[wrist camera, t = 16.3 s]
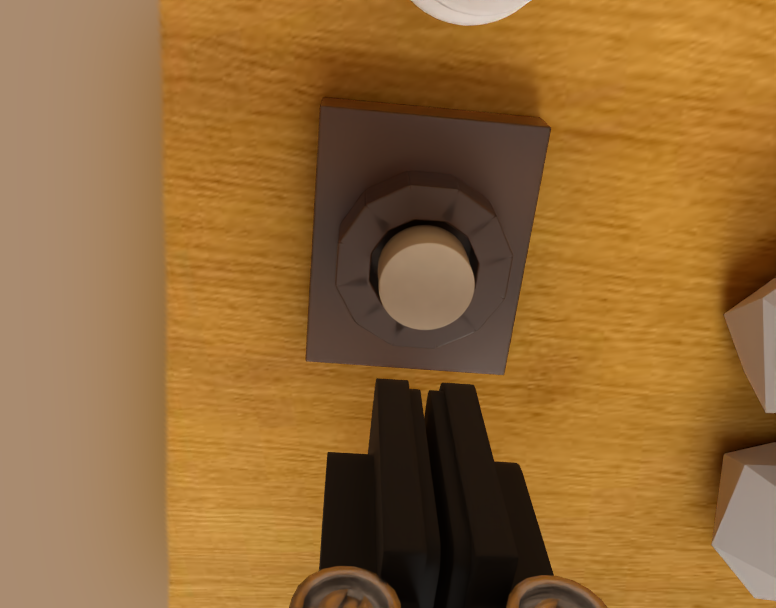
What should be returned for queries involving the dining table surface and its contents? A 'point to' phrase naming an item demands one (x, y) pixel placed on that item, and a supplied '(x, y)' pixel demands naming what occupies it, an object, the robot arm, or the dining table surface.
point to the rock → (751, 456)
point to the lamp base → (419, 207)
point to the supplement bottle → (469, 10)
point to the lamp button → (425, 277)
